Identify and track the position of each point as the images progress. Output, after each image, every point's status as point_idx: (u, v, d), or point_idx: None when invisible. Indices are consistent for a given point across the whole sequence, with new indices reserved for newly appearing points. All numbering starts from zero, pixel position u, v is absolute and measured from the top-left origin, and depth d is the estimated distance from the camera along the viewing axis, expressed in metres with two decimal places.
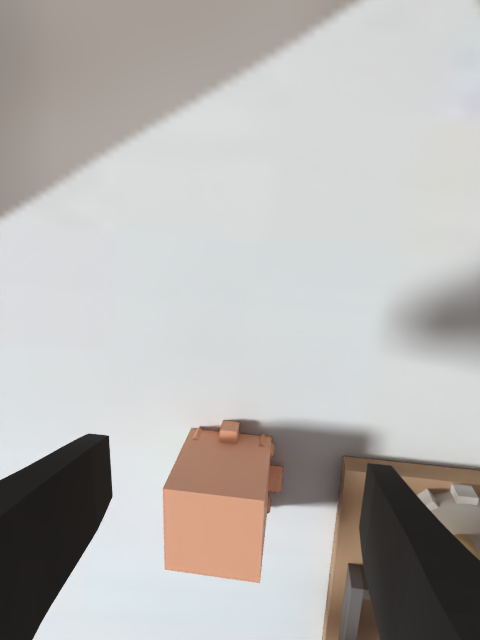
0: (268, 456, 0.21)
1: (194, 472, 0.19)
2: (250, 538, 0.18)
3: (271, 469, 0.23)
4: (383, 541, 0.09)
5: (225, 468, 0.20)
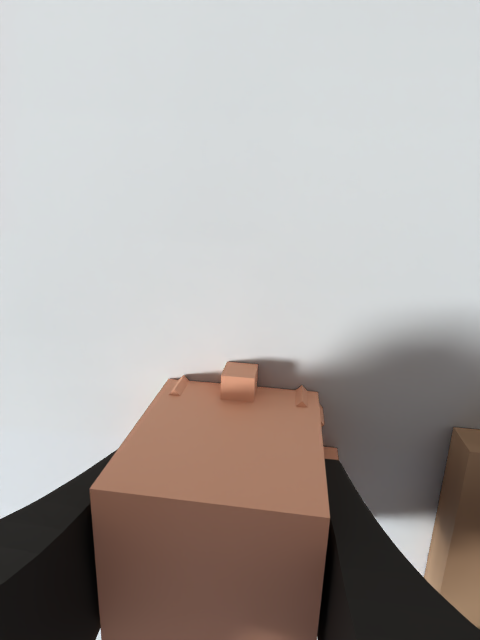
0: (319, 424, 0.10)
1: (167, 455, 0.09)
2: (292, 603, 0.08)
3: None
4: None
5: (232, 445, 0.09)
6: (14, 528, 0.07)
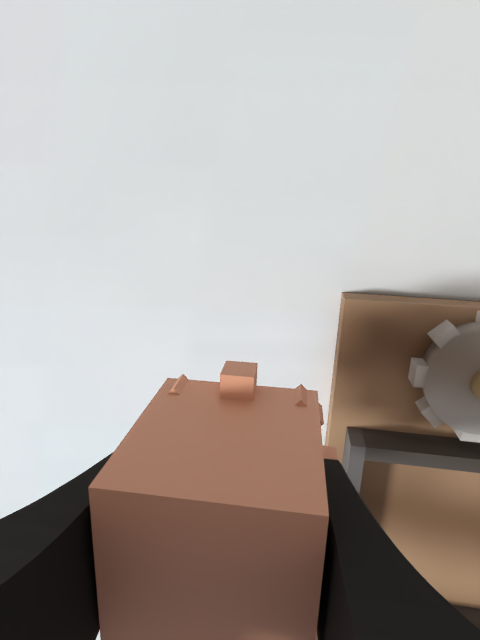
0: (318, 422, 0.10)
1: (166, 453, 0.09)
2: (291, 601, 0.08)
3: None
4: None
5: (231, 443, 0.09)
6: (14, 529, 0.07)
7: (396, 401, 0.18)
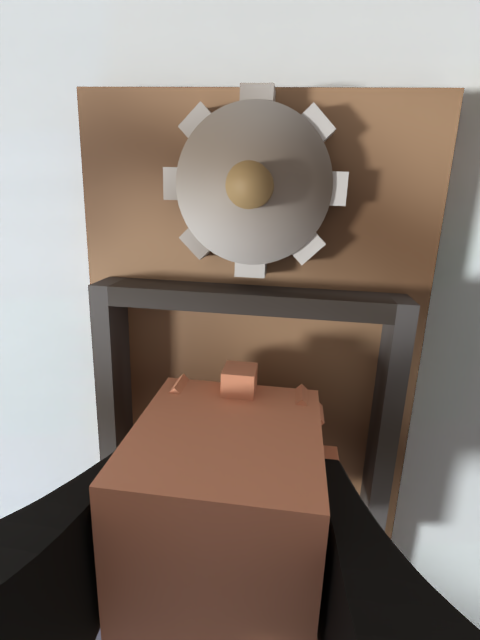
0: (319, 422, 0.10)
1: (167, 452, 0.09)
2: (292, 601, 0.08)
3: None
4: None
5: (232, 444, 0.09)
6: (14, 528, 0.07)
7: (163, 235, 0.14)
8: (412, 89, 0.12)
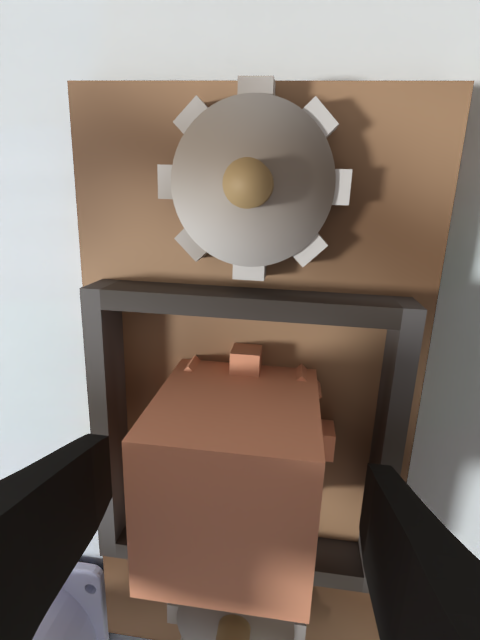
0: (316, 394, 0.12)
1: (185, 417, 0.10)
2: (293, 539, 0.09)
3: None
4: (383, 541, 0.09)
5: (241, 410, 0.11)
6: None
7: (158, 236, 0.13)
8: (419, 82, 0.11)
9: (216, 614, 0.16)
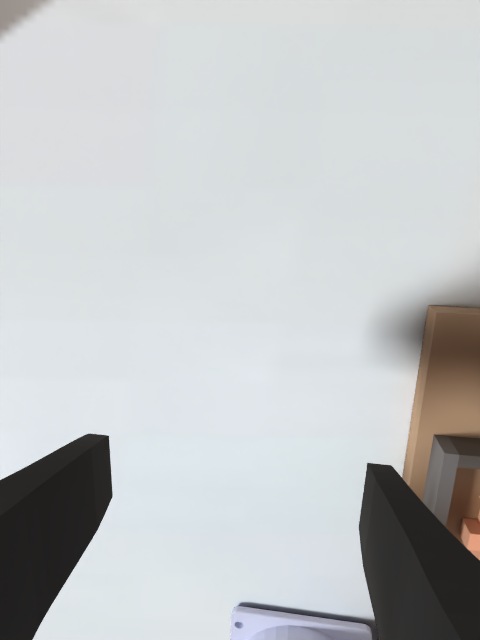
0: None
1: None
2: None
3: None
4: (383, 541, 0.09)
5: None
6: None
7: None
8: None
9: None
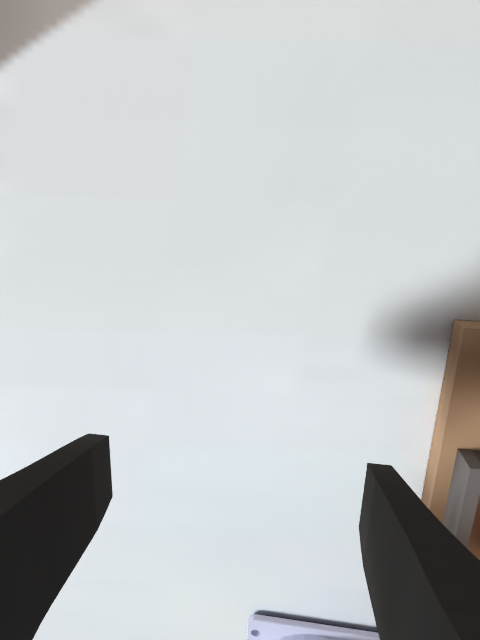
0: None
1: None
2: None
3: None
4: (383, 541, 0.09)
5: None
6: None
7: None
8: None
9: None
